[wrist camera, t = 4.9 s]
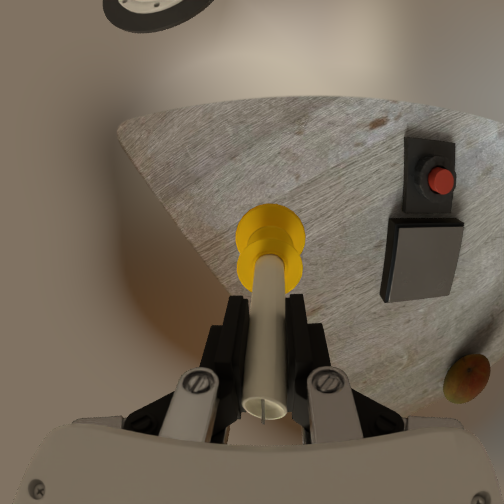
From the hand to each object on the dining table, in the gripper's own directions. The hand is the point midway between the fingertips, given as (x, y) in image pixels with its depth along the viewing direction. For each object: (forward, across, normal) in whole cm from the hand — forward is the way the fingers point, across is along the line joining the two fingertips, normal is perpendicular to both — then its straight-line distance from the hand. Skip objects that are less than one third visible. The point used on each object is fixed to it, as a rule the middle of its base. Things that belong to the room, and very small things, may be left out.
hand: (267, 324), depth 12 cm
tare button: (+23, -22, -3) cm, 31 cm away
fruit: (+25, -41, +37) cm, 61 cm away
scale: (+25, -22, +9) cm, 35 cm away
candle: (+11, 0, 0) cm, 11 cm away
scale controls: (+25, -22, -3) cm, 33 cm away
